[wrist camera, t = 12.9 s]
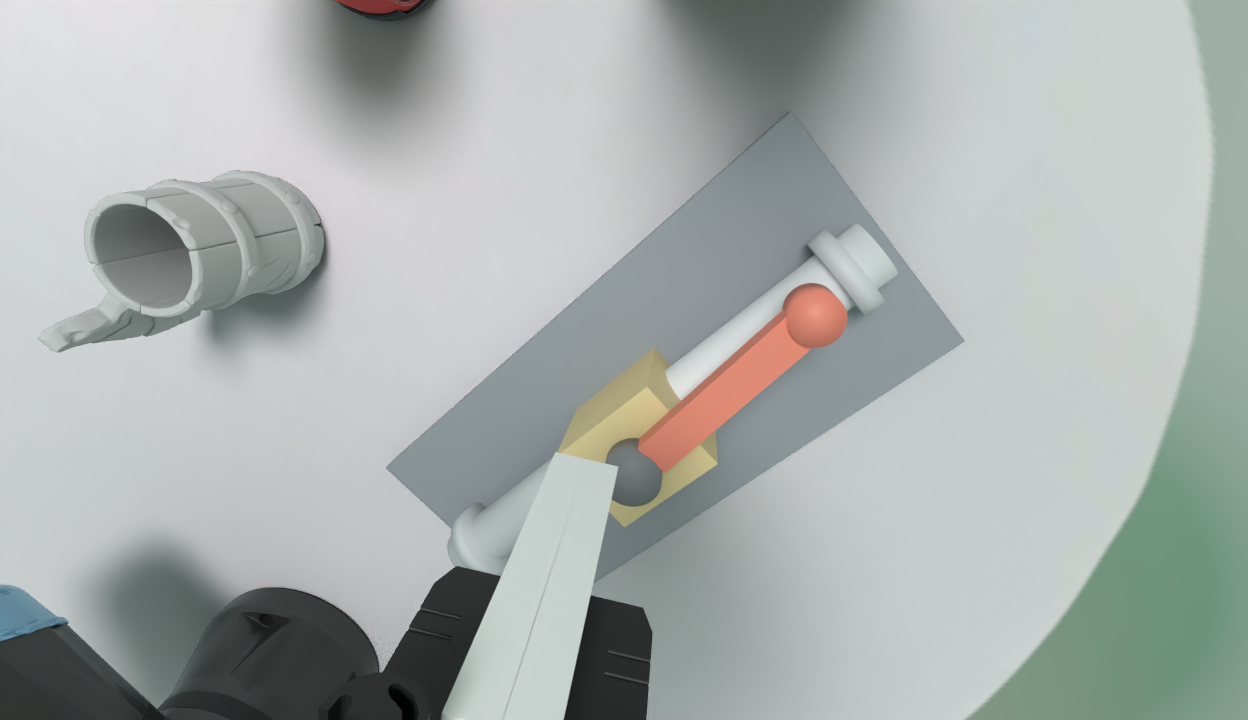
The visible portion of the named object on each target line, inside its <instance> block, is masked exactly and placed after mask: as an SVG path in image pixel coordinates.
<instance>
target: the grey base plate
mask: <svg viewBox="0 0 1248 720" xmlns="http://www.w3.org/2000/svg"><path fill="white" fill-rule="evenodd" d="M806 283H818V284H821V285H824V286H826V287H827V288H829V289H830V290H831V291H832V292H833V293H834V295H835V296H836V297H837V298H838V299H839V300H840V301H841V302H842V303H843V305H844V306H845V309H846V311H847V325H846V328H845V330H844V332H843V334H842V335H841V336H840V337H839V338H838V339H837V340H836V341H835V342H833V343H832V344H830V345H828V346H825V347H820V348H812V349H811V350H810V351H809V352H807V353H806V354H805V355H804V356H803V357H802V358H800V359H799V360H798V361H797V362H796V363H794V364H793V365H792V366H791V367H790V368H789V369H787V370H786V371H785V372H784V373H783V374H781V375H780V376H779V377H778V378H777V379H776V380H774V381H773V382H772V383H771V384H770V385H769V386H767V387H766V388H765V389H764V390H763V391H761V392H760V393H759V394H758V395H757V396H756V397H754V398H753V399H752V400H751V401H750V402H748V403H747V404H746V405H745V406H744V407H743V408H741V409H740V410H739V411H738V412H737V413H736V414H734V415H733V416H732V417H731V418H730V419H728V420H727V421H726V422H725V423H724V424H723V425H721V426H720V427H719V428H718V429H717V430H715V431H714V432H713V433H712V434H711V435H710V436H708V437H707V438H706V439H705V440H704V441H702V442H701V443H700V444H699V445H698V446H697V447H695V448H694V449H693V450H692V451H691V452H690V453H688V454H687V455H686V456H685V457H684V458H682V459H681V460H680V461H679V462H678V463H677V464H675V465H674V466H673V467H672V468H671V469H669V470H668V471H667V472H666V473H664V472H663V474H662V484H661V489H660V492H659V494H658V495H657V497H656V498H655V499H654V500H653V501H651V502H650V503H648V504H646V505H643V506H638V507H629V506H624V505H621V504H619V503H617V502H615V501H613V500H612V499H611V503H610V508H609V513H608V517H607V522H606V526H605V531H604V536H603V540H602V545H601V549H600V554H599V559H598V563H597V568H596V573H595V577H594V582H596V581H597V580H599V579H601V578H602V577H604V576H605V575H607V574H608V573H610V572H611V571H613V570H614V569H616V568H617V567H619V566H620V565H622V564H624V563H625V562H627V561H628V560H630V559H631V558H633V557H634V556H636V555H637V554H639V553H640V552H642V551H644V550H645V549H647V548H648V547H650V546H651V545H653V544H654V543H656V542H657V541H659V540H660V539H662V538H663V537H665V536H667V535H668V534H670V533H671V532H673V531H674V530H676V529H677V528H679V527H680V526H682V525H683V524H685V523H687V522H688V521H690V520H691V519H693V518H694V517H696V516H697V515H699V514H700V513H702V512H703V511H705V510H706V509H708V508H710V507H711V506H713V505H714V504H716V503H717V502H719V501H720V500H722V499H723V498H725V497H726V496H728V495H730V494H731V493H733V492H734V491H736V490H737V489H739V488H740V487H742V486H743V485H745V484H746V483H748V482H749V481H751V480H753V479H754V478H756V477H757V476H759V475H760V474H762V473H763V472H765V471H766V470H768V469H769V468H771V467H773V466H774V465H776V464H777V463H779V462H780V461H782V460H783V459H785V458H786V457H788V456H789V455H791V454H792V453H794V452H796V451H797V450H799V449H800V448H802V447H803V446H805V445H806V444H808V443H809V442H811V441H812V440H814V439H816V438H817V437H819V436H820V435H822V434H823V433H825V432H826V431H828V430H829V429H831V428H832V427H834V426H835V425H837V424H839V423H840V422H842V421H843V420H845V419H846V418H848V417H849V416H851V415H852V414H854V413H855V412H857V411H859V410H860V409H862V408H863V407H865V406H866V405H868V404H869V403H871V402H872V401H874V400H875V399H877V398H878V397H880V396H882V395H883V394H885V393H886V392H888V391H889V390H891V389H892V388H894V387H895V386H897V385H898V384H900V383H902V382H903V381H905V380H906V379H908V378H909V377H911V376H912V375H914V374H915V373H917V372H918V371H920V370H922V369H923V368H925V367H926V366H928V365H929V364H931V363H932V362H934V361H935V360H937V359H938V358H940V357H941V356H943V355H945V354H946V353H948V352H949V351H951V350H952V349H954V348H955V347H957V346H958V345H960V344H961V343H963V342H965V341H964V339H963V338H962V337H961V335H960V334H959V333H958V331H957V330H956V329H955V327H954V326H953V325H952V323H951V322H950V321H949V319H948V318H947V317H946V315H945V314H944V313H943V311H942V310H941V309H940V307H939V306H938V305H937V303H936V302H935V301H934V299H933V298H932V297H931V295H930V294H929V293H928V291H927V290H926V289H925V288H924V286H923V285H922V284H921V282H920V281H919V280H918V278H917V277H916V276H915V274H914V273H913V272H912V270H911V269H910V268H909V266H908V265H907V264H906V262H905V261H904V260H903V258H902V257H901V256H900V254H899V253H898V252H897V250H896V249H895V248H894V246H893V245H892V244H891V242H890V241H889V240H888V238H887V237H886V236H885V234H884V233H883V232H882V230H881V229H880V228H879V226H878V225H877V224H876V222H875V221H874V220H873V218H872V217H871V216H870V214H869V213H868V212H867V210H866V209H865V208H864V206H863V205H862V204H861V202H860V201H859V200H858V198H857V197H856V196H855V194H854V193H853V192H852V190H851V189H850V188H849V186H848V185H847V184H846V183H845V181H844V180H843V179H842V177H841V176H840V175H839V173H838V172H837V171H836V169H835V168H834V167H833V165H832V164H831V163H830V161H829V160H828V159H827V157H826V156H825V155H824V153H823V152H822V151H821V149H820V148H819V147H818V145H817V144H816V143H815V141H814V140H813V139H812V137H811V136H810V135H809V133H808V132H807V131H806V129H805V128H804V127H803V125H802V124H801V123H800V121H799V120H798V119H797V117H796V116H795V115H794V113H793V112H792V111H790V112H788V113H787V114H786V115H785V116H783V117H782V118H781V119H780V120H779V121H778V122H777V123H775V124H774V125H773V126H772V127H771V128H770V129H769V130H768V131H766V132H765V133H764V134H763V135H762V136H761V137H760V138H758V139H757V140H756V141H755V142H754V143H753V144H752V145H750V146H749V147H748V148H747V149H746V150H745V151H744V152H743V153H741V154H740V155H739V156H738V157H737V158H736V159H735V160H733V161H732V162H731V163H730V164H729V165H728V166H727V167H725V168H724V169H723V170H722V171H721V172H720V173H719V174H718V175H716V176H715V177H714V178H713V179H712V180H711V181H710V182H708V183H707V184H706V185H705V186H704V187H703V188H702V189H700V190H699V191H698V192H697V193H696V194H695V195H694V196H693V197H691V198H690V199H689V200H688V201H687V202H686V203H685V204H683V205H682V206H681V207H680V208H679V209H678V210H677V211H675V212H674V213H673V214H672V215H671V216H670V217H669V218H668V219H666V220H665V221H664V222H663V223H662V224H661V225H660V226H658V227H657V228H656V229H655V230H654V231H653V232H652V233H650V234H649V235H648V236H647V237H646V238H645V239H644V240H643V241H641V242H640V243H639V244H638V245H637V246H636V247H635V248H633V249H632V250H631V251H630V252H629V253H628V254H627V255H625V256H624V257H623V258H622V259H621V260H620V261H619V262H618V263H616V264H615V265H614V266H613V267H612V268H611V269H610V270H608V271H607V272H606V273H605V274H604V275H603V276H602V277H600V278H599V279H598V280H597V281H596V282H595V283H594V284H593V285H591V286H590V287H589V288H588V289H587V290H586V291H585V292H583V293H582V294H581V295H580V296H579V297H578V298H577V299H575V300H574V301H573V302H572V303H571V304H570V305H569V306H568V307H566V308H565V309H564V310H563V311H562V312H561V313H560V314H558V315H557V316H556V317H555V318H554V319H553V320H552V321H550V322H549V323H548V324H547V325H546V326H545V327H544V328H543V329H541V330H540V331H539V332H538V333H537V334H536V335H535V336H533V337H532V338H531V339H530V340H529V341H528V342H527V343H525V344H524V345H523V346H522V347H521V348H520V349H519V350H518V351H516V352H515V353H514V354H513V355H512V356H511V357H510V358H508V359H507V360H506V361H505V362H504V363H503V364H502V365H500V366H499V367H498V368H497V369H496V370H495V371H494V372H493V373H491V374H490V375H489V376H488V377H487V378H486V379H485V380H483V381H482V382H481V383H480V384H479V385H478V386H477V387H475V388H474V389H473V390H472V391H471V392H470V393H469V394H468V395H466V396H465V397H464V398H463V399H462V400H461V401H460V402H458V403H457V404H456V405H455V406H454V407H453V408H452V409H450V410H449V411H448V412H447V413H446V414H445V415H444V416H443V417H441V418H440V419H439V420H438V421H437V422H436V423H435V424H433V425H432V426H431V427H430V428H429V429H428V430H427V431H425V432H424V433H423V434H422V435H421V436H420V437H419V438H418V439H416V440H415V441H414V442H413V443H412V444H411V445H410V446H408V447H407V448H406V449H405V450H404V451H403V452H402V453H400V454H399V455H398V456H397V457H396V458H395V459H394V460H393V461H392V462H391V463H390V464H389V465H388V466H387V467H386V469H387V470H388V471H390V472H391V473H392V474H393V475H394V476H395V477H396V478H397V479H398V480H399V481H400V482H401V483H403V484H404V485H405V486H406V487H407V488H408V489H409V490H410V491H411V492H412V493H413V494H414V495H415V496H417V497H418V498H419V499H420V500H421V501H422V502H423V503H424V504H425V505H426V506H427V507H428V508H430V509H431V510H432V511H433V512H434V513H435V514H436V515H437V516H438V517H439V518H440V519H441V520H443V521H444V522H445V523H446V524H447V525H448V526H449V527H450V528H451V537H450V538H449V541H448V554H449V557H450V559H451V561H452V563H453V565H454V566H455V567H456V566H460V567H464V568H469V569H473V570H477V571H481V572H486V573H490V574H494V575H498V576H499V575H502V573H503V571H504V569H505V567H506V564H507V562H508V560H509V557H510V555H511V553H512V550H513V548H514V546H515V544H516V541H517V539H518V537H519V534H520V532H521V530H522V527H523V525H524V523H525V521H526V518H527V516H528V514H529V511H530V509H531V507H532V504H533V502H534V500H535V498H536V495H537V493H538V491H539V488H540V486H541V484H542V481H543V479H544V477H545V475H546V472H547V470H548V468H549V465H550V463H551V461H552V458H553V456H554V454H555V452H557V453H562V454H566V455H571V456H575V457H579V458H584V459H588V460H592V461H597V462H601V463H605V461H606V458H607V454H608V452H609V450H610V449H611V447H612V446H613V445H614V444H616V443H617V442H619V441H621V440H624V439H628V438H638V439H639V438H640V437H641V436H642V435H644V434H645V433H646V432H647V431H648V430H649V429H650V428H651V427H652V426H654V425H655V424H656V423H657V422H658V421H659V420H660V419H661V418H663V417H664V416H665V415H666V414H667V413H668V412H669V411H670V410H671V409H673V408H674V407H675V406H676V405H677V404H678V403H679V402H680V401H682V400H683V399H684V398H685V397H686V396H687V395H688V394H689V393H690V392H692V391H693V390H694V389H695V388H696V387H697V386H698V385H699V384H700V383H702V382H703V381H704V380H705V379H706V378H707V377H708V376H709V375H711V374H712V373H713V372H714V371H715V370H716V369H717V368H718V367H719V366H721V365H722V364H723V363H724V362H725V361H726V360H727V359H728V358H729V357H731V356H732V355H733V354H734V353H735V352H736V351H737V350H738V349H740V348H741V347H742V346H743V345H744V344H745V343H746V342H747V341H748V340H750V339H751V338H752V337H753V336H754V335H755V334H756V333H757V332H759V331H760V330H761V329H762V328H763V327H764V326H765V325H766V324H767V323H769V322H770V321H771V320H772V319H773V318H774V317H775V316H776V315H777V314H779V313H780V312H781V311H782V306H783V302H784V300H785V298H786V296H787V295H788V294H789V293H790V292H791V291H792V290H793V289H794V288H796V287H797V286H800V285H802V284H806ZM594 582H593V583H594Z"/></svg>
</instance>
